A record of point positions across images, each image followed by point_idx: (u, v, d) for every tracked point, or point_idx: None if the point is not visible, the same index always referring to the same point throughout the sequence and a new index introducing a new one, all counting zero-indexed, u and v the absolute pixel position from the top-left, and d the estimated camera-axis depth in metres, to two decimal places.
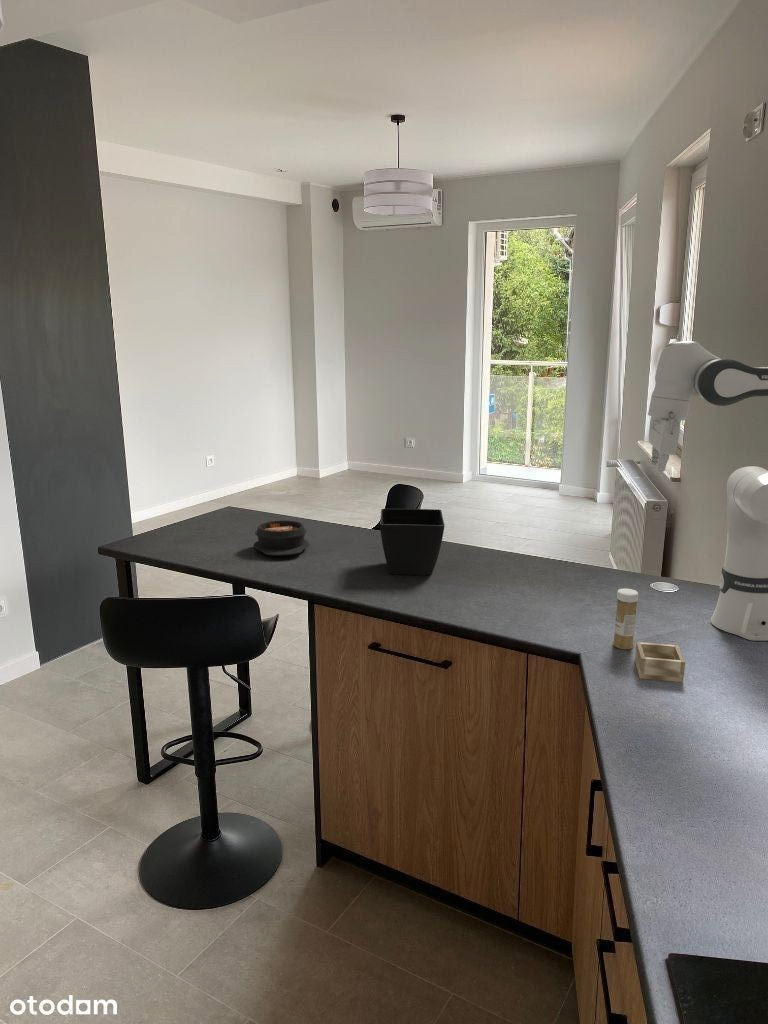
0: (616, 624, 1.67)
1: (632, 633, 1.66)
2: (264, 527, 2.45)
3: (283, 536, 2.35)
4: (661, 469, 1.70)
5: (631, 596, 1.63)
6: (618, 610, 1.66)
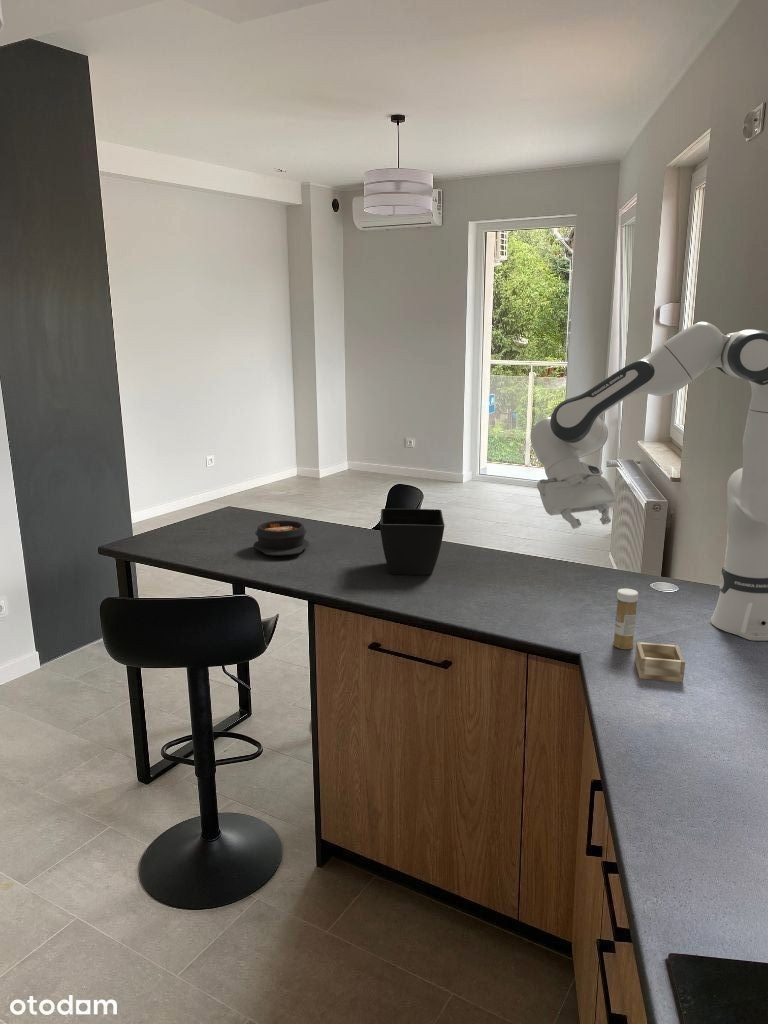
0: (616, 624, 1.67)
1: (632, 633, 1.66)
2: (264, 527, 2.45)
3: (283, 536, 2.35)
4: (574, 525, 1.70)
5: (631, 596, 1.63)
6: (618, 610, 1.66)
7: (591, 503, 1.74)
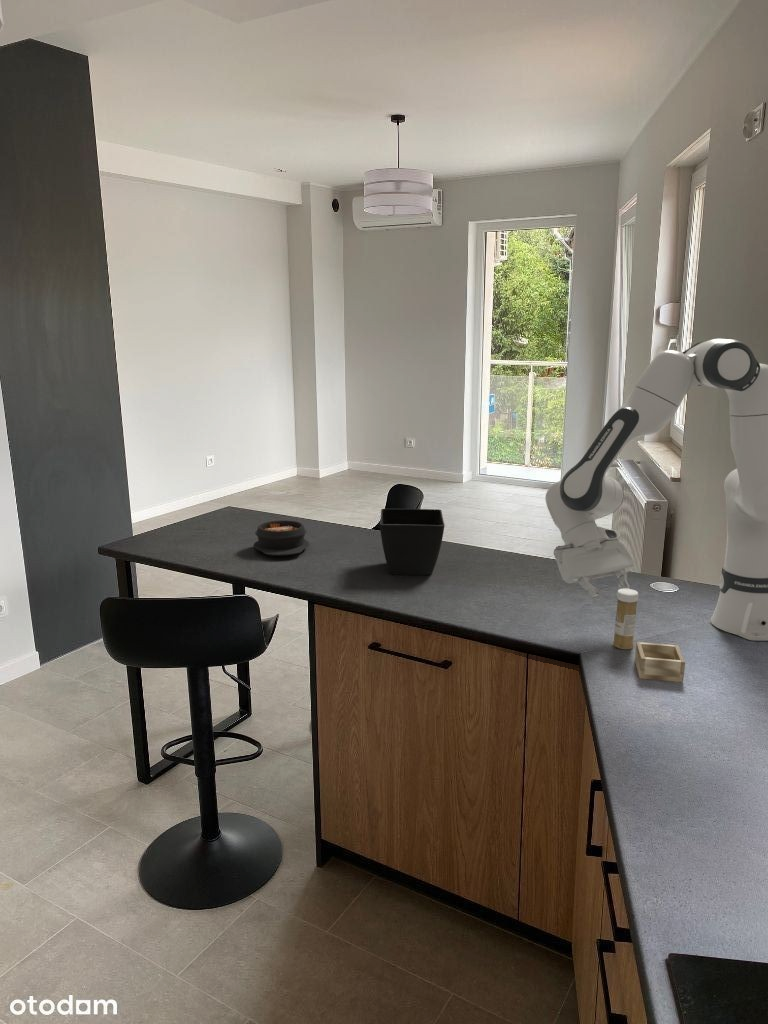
0: (616, 624, 1.67)
1: (632, 633, 1.66)
2: (264, 527, 2.45)
3: (283, 536, 2.35)
4: (592, 594, 1.68)
5: (631, 596, 1.63)
6: (618, 610, 1.66)
7: (609, 569, 1.71)
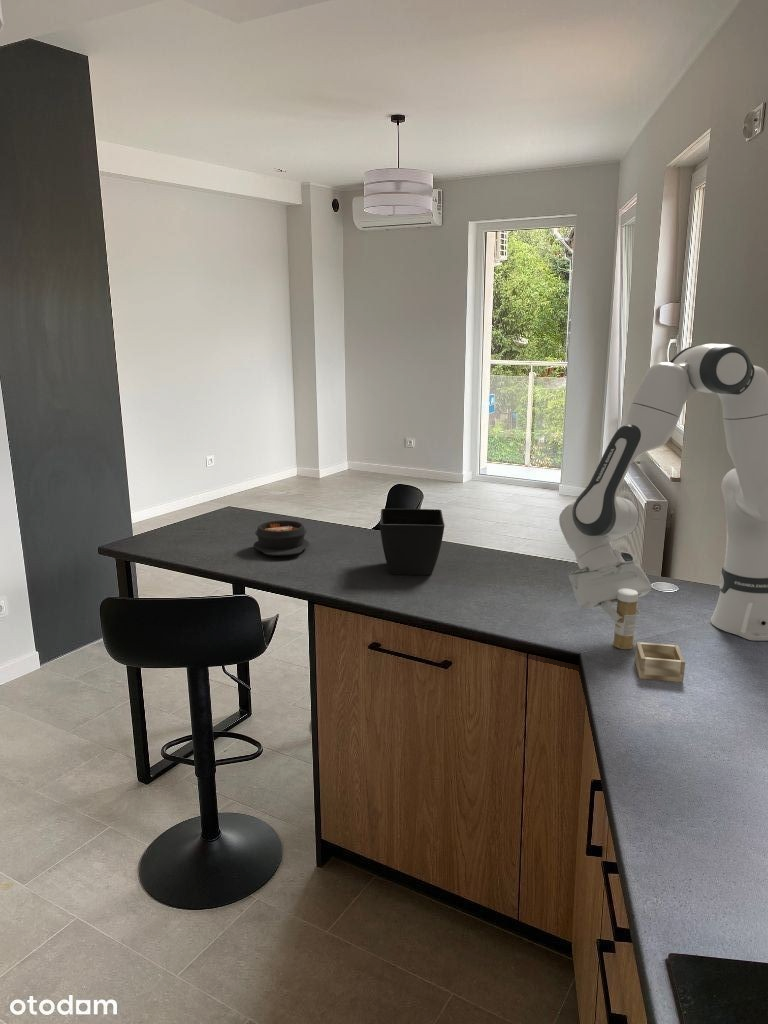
0: (616, 624, 1.67)
1: (632, 633, 1.66)
2: (264, 527, 2.45)
3: (283, 536, 2.35)
4: (615, 618, 1.65)
5: (631, 596, 1.63)
6: (618, 610, 1.66)
7: None
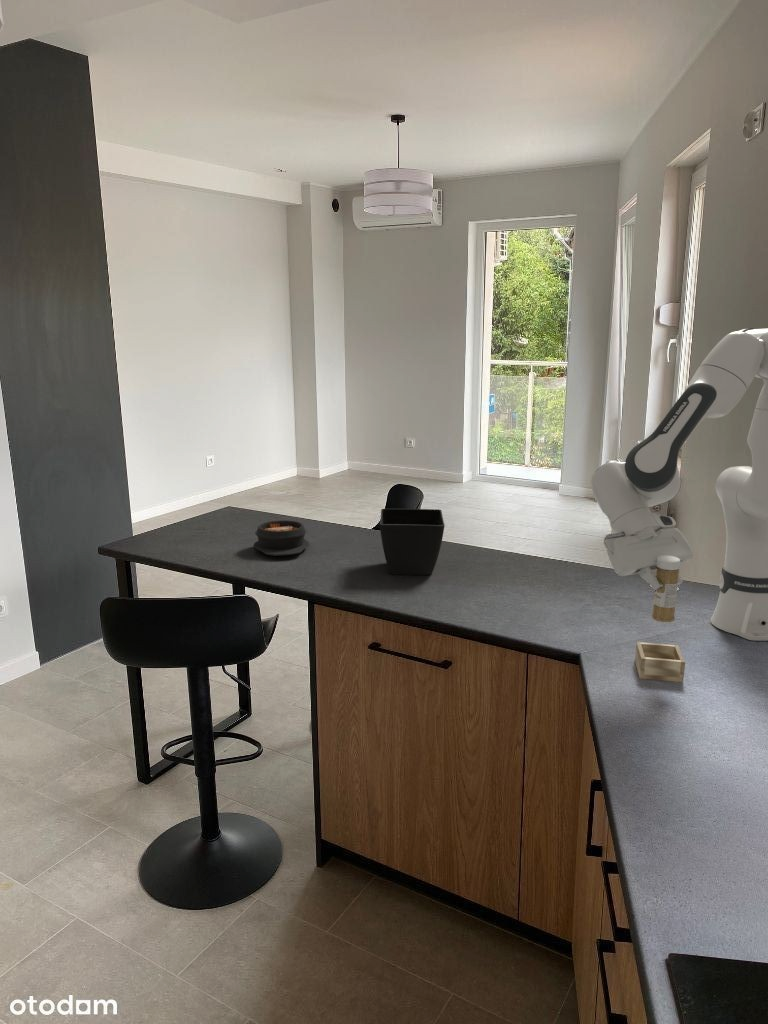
0: (656, 595, 1.51)
1: (673, 604, 1.50)
2: (264, 527, 2.45)
3: (283, 536, 2.35)
4: (655, 586, 1.49)
5: (673, 563, 1.48)
6: None
7: None
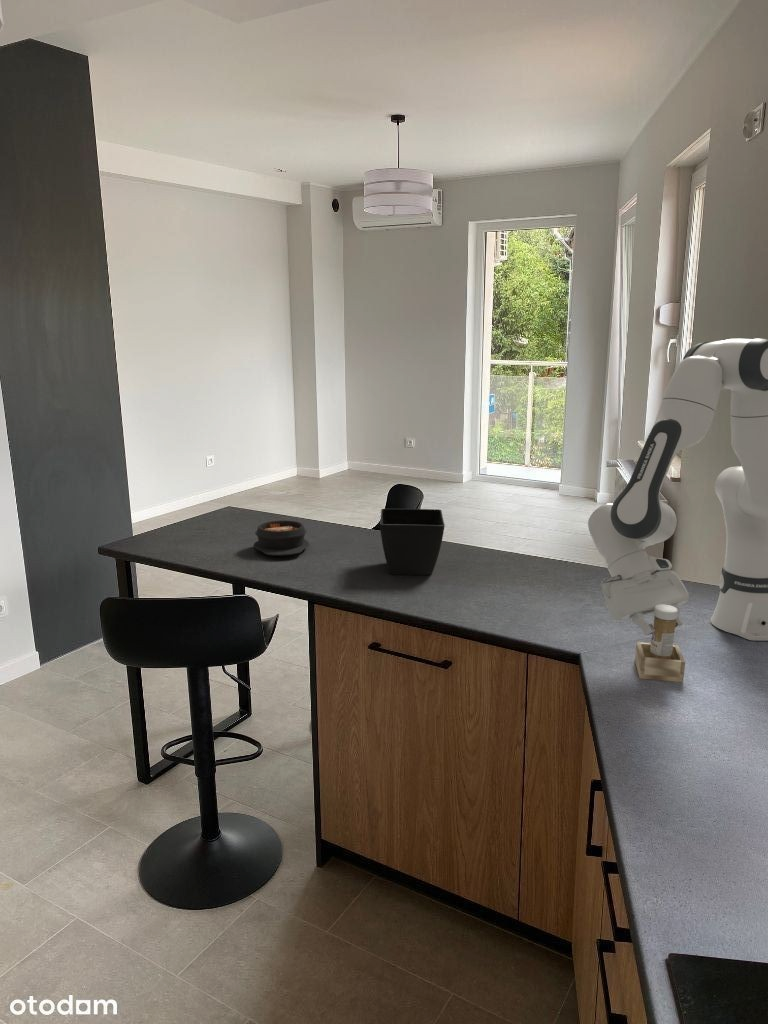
0: (652, 643, 1.54)
1: (670, 653, 1.53)
2: (264, 527, 2.45)
3: (283, 536, 2.35)
4: (647, 632, 1.51)
5: (671, 614, 1.50)
6: (654, 628, 1.53)
7: None
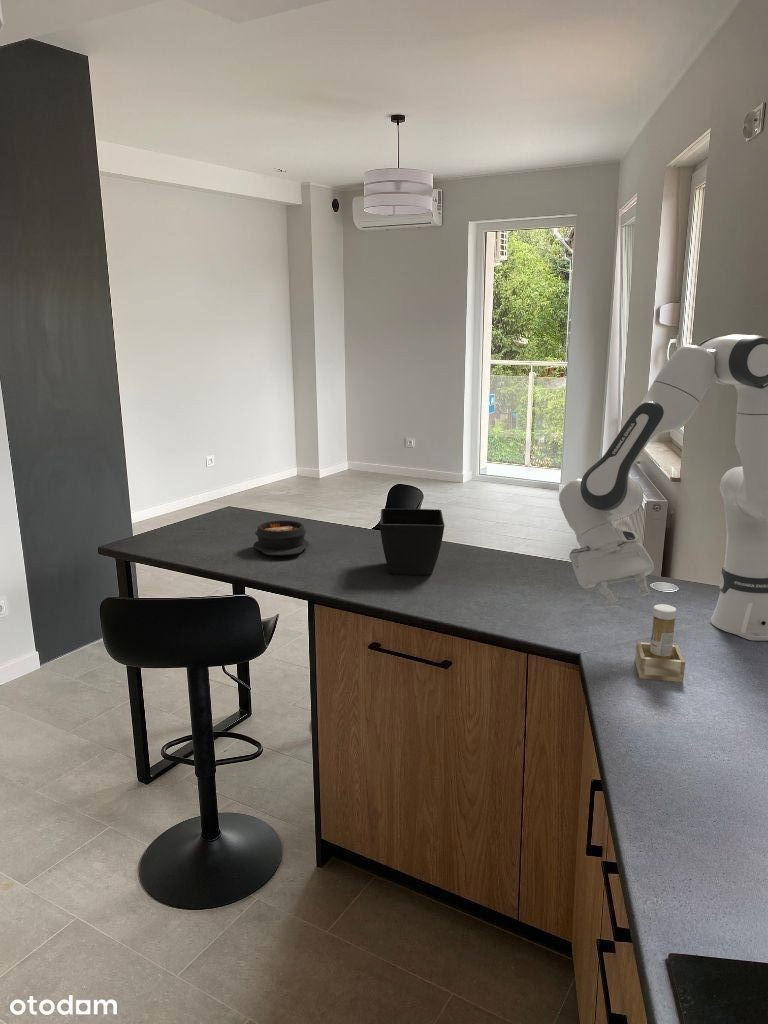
0: (652, 643, 1.54)
1: (669, 653, 1.53)
2: (264, 527, 2.45)
3: (283, 536, 2.35)
4: (611, 599, 1.58)
5: (670, 613, 1.50)
6: (654, 628, 1.53)
7: (628, 573, 1.62)
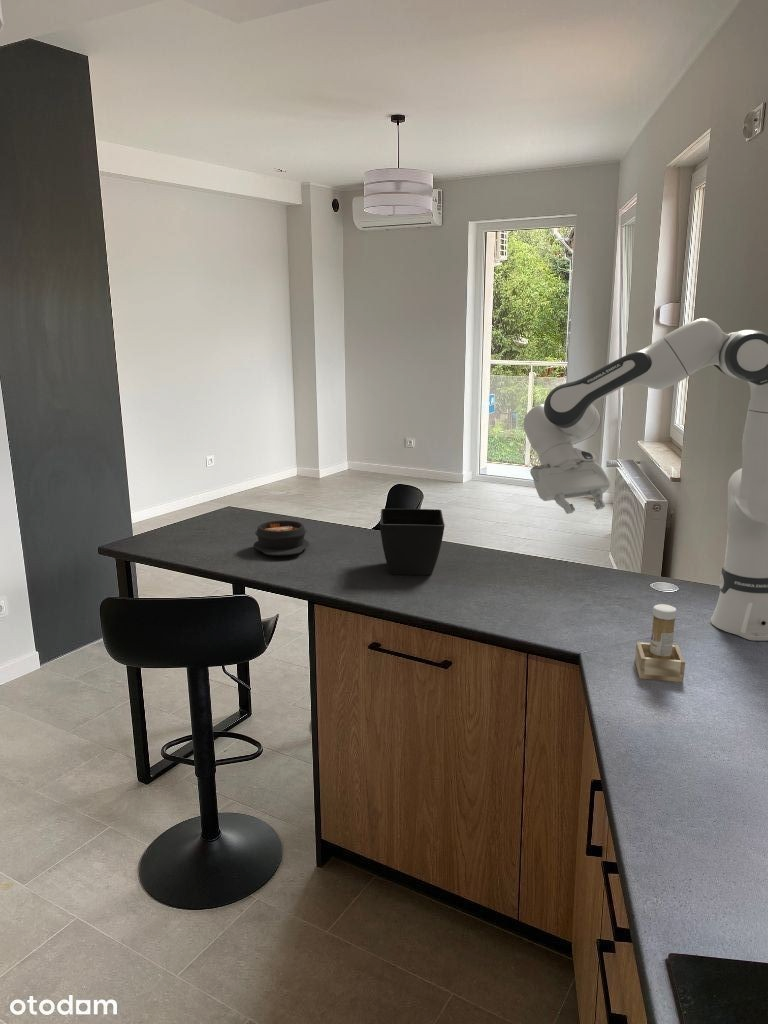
0: (652, 643, 1.54)
1: (669, 653, 1.53)
2: (264, 527, 2.45)
3: (283, 536, 2.35)
4: (568, 510, 1.71)
5: (669, 613, 1.50)
6: (654, 628, 1.53)
7: (585, 488, 1.75)
